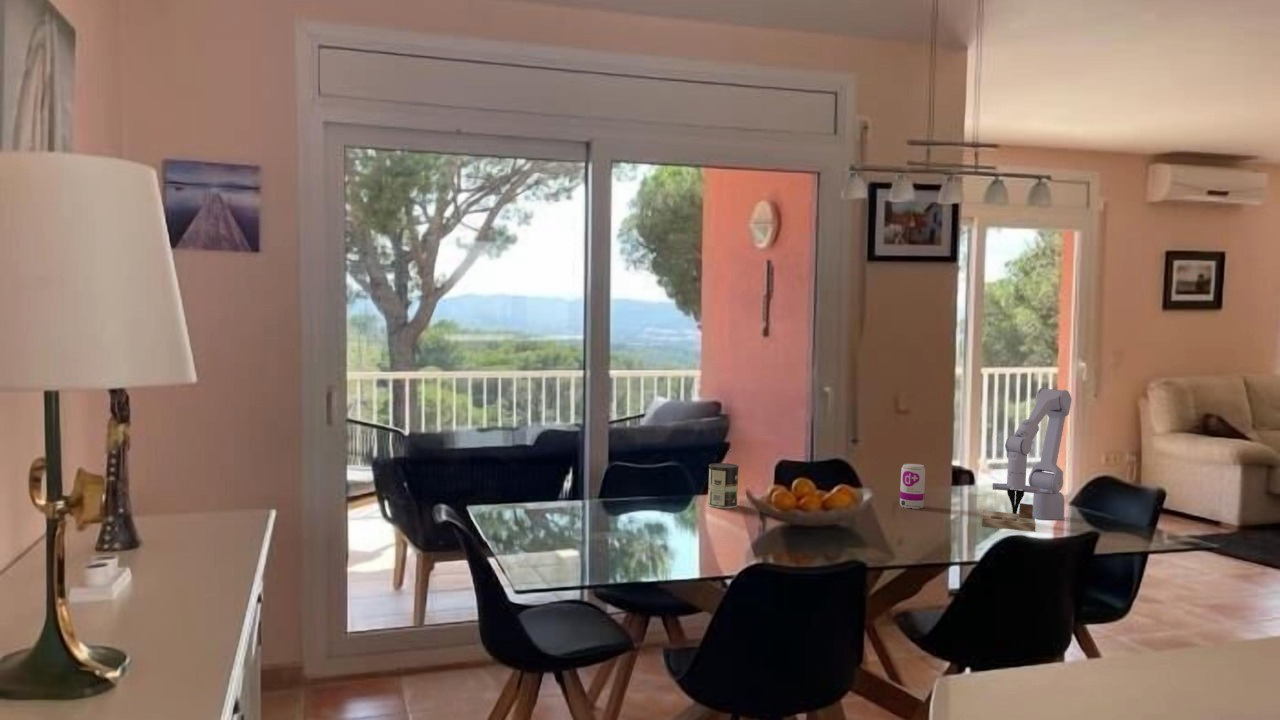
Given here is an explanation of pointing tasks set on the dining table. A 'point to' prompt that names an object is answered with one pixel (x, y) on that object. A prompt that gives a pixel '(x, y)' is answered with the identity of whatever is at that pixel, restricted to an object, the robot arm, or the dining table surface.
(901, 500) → the supplement can
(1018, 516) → the pad
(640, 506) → the dining table surface
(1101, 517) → the dining table surface
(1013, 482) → the robot arm
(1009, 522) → the wooden board
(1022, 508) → the walnut block
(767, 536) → the dining table surface
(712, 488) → the coffee can
